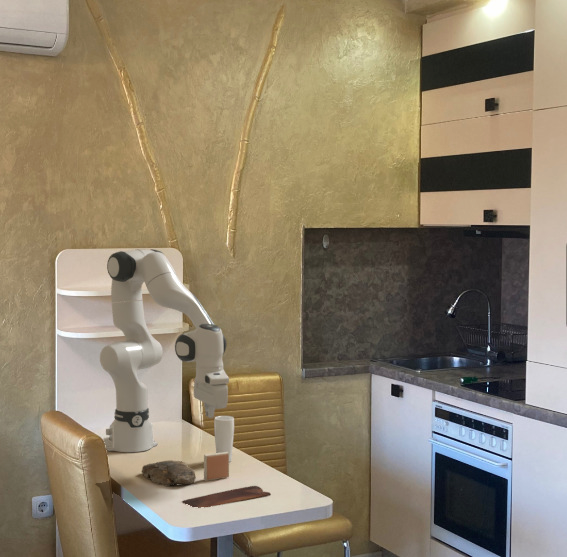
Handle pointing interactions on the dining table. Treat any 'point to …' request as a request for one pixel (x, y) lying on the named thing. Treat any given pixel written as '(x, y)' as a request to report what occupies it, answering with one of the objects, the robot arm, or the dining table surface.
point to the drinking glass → (224, 434)
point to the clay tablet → (169, 472)
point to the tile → (216, 465)
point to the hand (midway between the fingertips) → (209, 417)
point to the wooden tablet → (227, 497)
